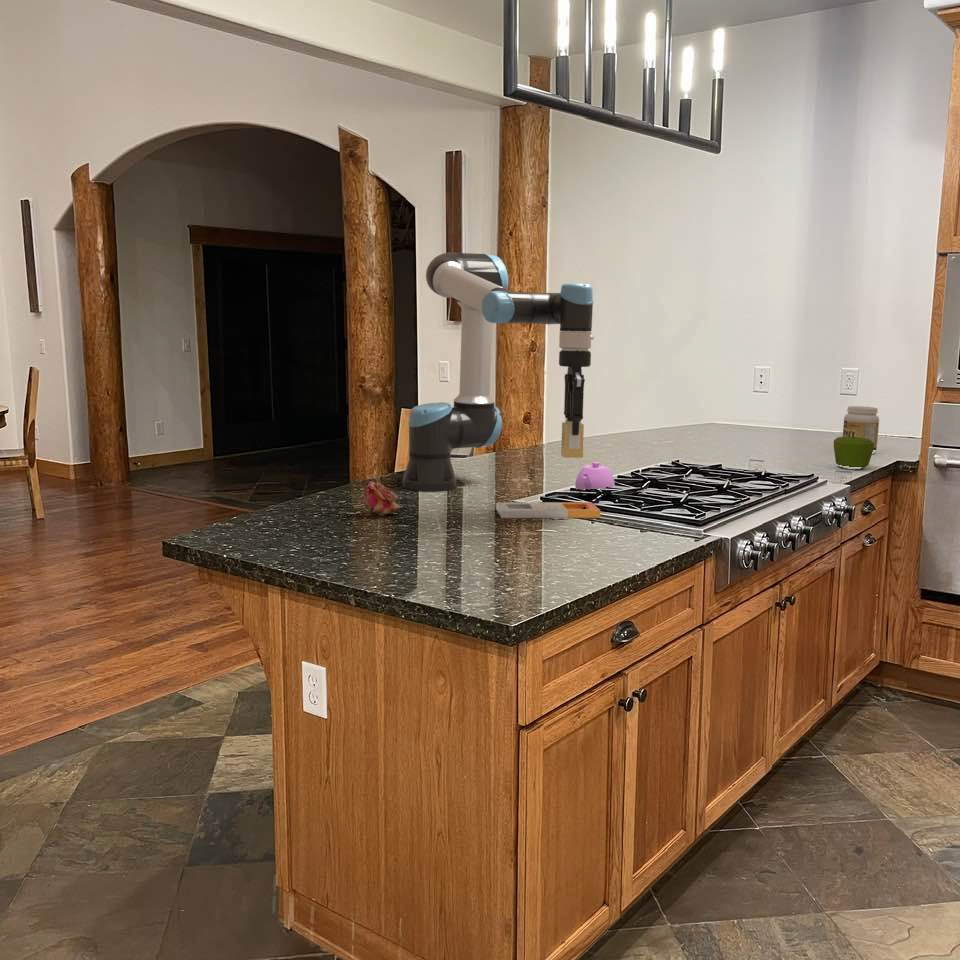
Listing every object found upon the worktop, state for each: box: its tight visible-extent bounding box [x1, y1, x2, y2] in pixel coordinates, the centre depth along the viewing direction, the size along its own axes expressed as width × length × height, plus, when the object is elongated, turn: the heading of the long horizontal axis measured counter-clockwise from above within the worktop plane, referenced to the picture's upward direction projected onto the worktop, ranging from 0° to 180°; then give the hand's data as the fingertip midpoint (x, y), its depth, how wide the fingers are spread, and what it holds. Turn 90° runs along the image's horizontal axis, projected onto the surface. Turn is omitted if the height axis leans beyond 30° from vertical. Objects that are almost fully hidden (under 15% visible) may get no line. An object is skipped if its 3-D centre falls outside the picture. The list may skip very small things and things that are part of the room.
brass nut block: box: [560, 421, 585, 459], centre depth 235 cm, size 4×4×8 cm
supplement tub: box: [842, 405, 880, 451], centre depth 361 cm, size 12×12×17 cm
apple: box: [833, 435, 874, 468], centre depth 323 cm, size 12×12×11 cm
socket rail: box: [495, 501, 601, 519], centre depth 238 cm, size 24×10×2 cm, turn 96°
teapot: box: [574, 461, 616, 489], centre depth 264 cm, size 10×15×9 cm
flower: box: [363, 480, 402, 517], centre depth 236 cm, size 10×9×8 cm
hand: (572, 446), depth 235 cm, fingers closed on brass nut block, 4 cm apart
